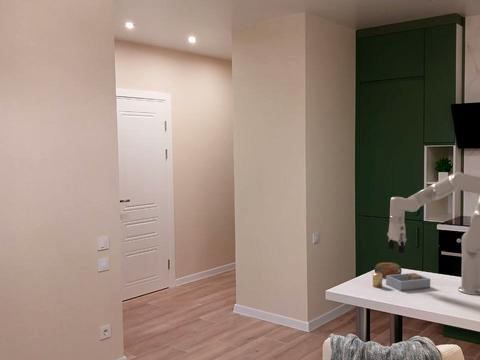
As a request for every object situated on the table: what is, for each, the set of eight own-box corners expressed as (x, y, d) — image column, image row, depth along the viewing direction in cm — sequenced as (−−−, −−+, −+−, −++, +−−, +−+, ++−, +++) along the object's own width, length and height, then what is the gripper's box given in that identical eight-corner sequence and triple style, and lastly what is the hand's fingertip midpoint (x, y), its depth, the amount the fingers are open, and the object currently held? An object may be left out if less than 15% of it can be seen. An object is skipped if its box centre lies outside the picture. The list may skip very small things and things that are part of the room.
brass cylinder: (384, 287, 265) (384, 274, 264) (375, 288, 264) (375, 275, 263) (379, 284, 270) (379, 272, 269) (371, 285, 268) (371, 273, 268)
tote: (430, 288, 261) (430, 278, 261) (400, 291, 257) (400, 281, 256) (414, 281, 275) (414, 272, 275) (386, 284, 270) (386, 275, 270)
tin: (374, 276, 287) (374, 262, 287) (374, 275, 290) (374, 261, 290) (401, 278, 283) (401, 264, 282) (401, 277, 286) (401, 262, 285)
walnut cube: (421, 284, 265) (421, 275, 265) (413, 285, 264) (413, 276, 263) (415, 282, 270) (415, 273, 270) (407, 283, 269) (407, 274, 268)
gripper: (412, 221, 257) (411, 253, 259) (394, 217, 274) (393, 247, 275) (399, 222, 255) (398, 254, 257) (382, 217, 272) (381, 247, 273)
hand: (395, 250), depth 266 cm, fingers open, 9 cm apart
